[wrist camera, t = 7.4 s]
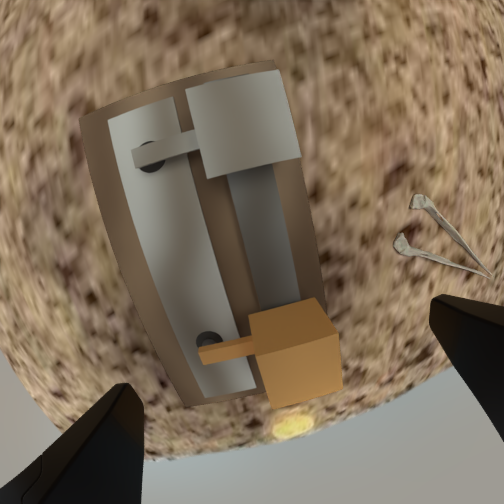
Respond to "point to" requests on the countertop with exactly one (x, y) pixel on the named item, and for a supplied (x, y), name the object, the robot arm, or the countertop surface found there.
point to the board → (205, 216)
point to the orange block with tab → (287, 352)
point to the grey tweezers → (424, 202)
